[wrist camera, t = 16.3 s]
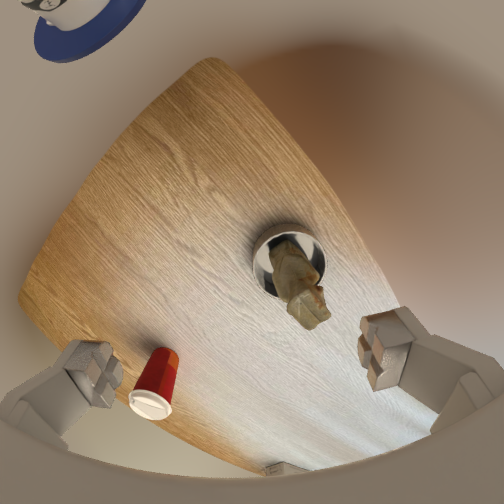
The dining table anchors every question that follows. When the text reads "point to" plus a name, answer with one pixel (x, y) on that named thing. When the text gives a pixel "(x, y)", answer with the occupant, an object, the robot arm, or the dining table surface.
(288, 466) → the cereal box
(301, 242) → the grey metal round dish
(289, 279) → the sculpture
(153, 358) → the paper cup
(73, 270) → the dining table surface
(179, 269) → the dining table surface
